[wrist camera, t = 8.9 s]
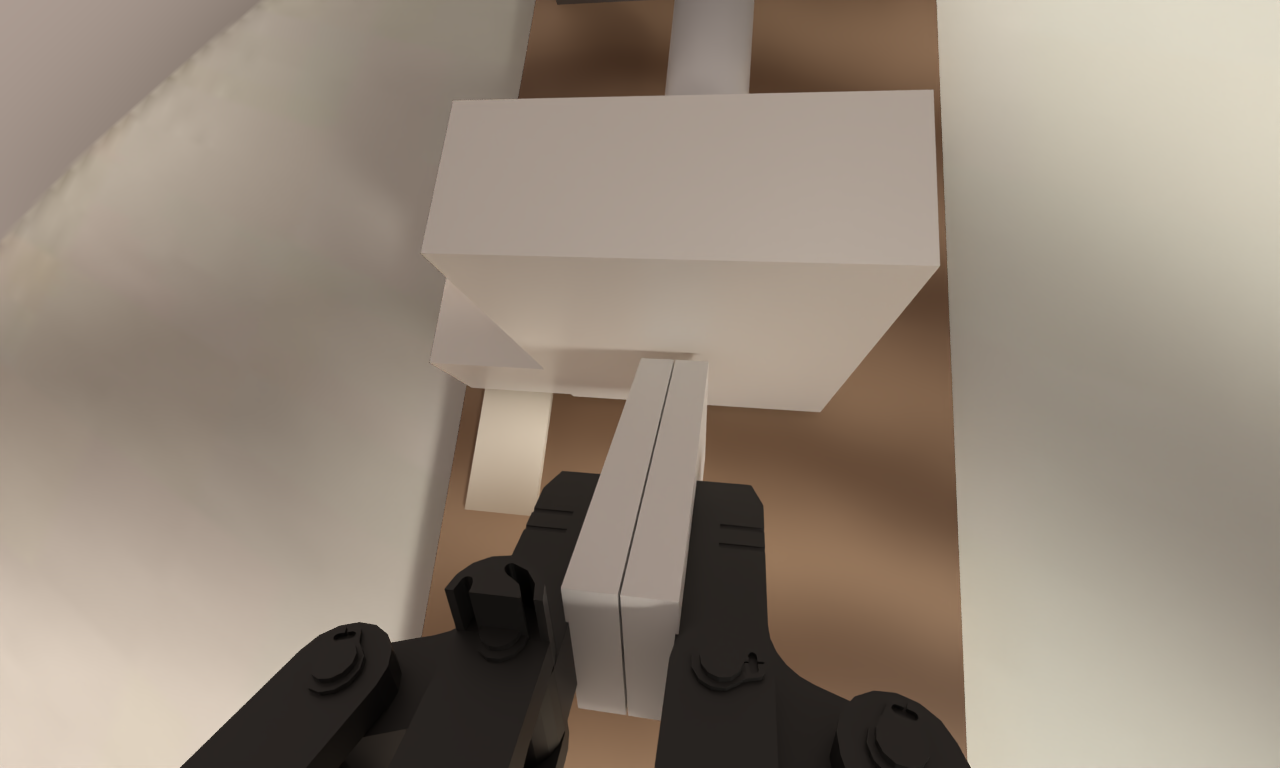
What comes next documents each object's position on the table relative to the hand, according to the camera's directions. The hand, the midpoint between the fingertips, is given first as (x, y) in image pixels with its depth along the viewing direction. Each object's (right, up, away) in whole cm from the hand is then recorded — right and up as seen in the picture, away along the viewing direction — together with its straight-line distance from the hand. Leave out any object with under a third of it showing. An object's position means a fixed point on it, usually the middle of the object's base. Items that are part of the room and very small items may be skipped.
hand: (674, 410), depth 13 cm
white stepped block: (0, +6, +7) cm, 9 cm away
